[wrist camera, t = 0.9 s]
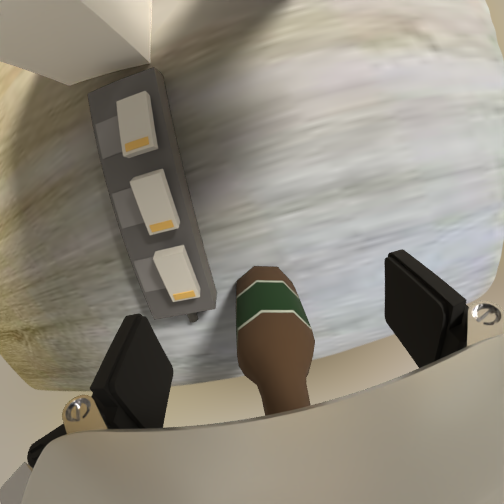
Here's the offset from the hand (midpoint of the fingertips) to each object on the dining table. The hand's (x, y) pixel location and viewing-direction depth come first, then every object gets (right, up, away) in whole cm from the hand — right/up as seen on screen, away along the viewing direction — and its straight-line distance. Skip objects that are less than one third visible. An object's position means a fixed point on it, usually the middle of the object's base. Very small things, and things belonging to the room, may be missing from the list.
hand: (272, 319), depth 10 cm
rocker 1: (-12, +15, +14) cm, 23 cm away
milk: (-19, +30, +14) cm, 38 cm away
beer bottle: (+1, -2, +27) cm, 27 cm away
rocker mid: (-10, +7, +17) cm, 21 cm away
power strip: (-12, +8, +22) cm, 26 cm away
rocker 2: (-9, 0, +20) cm, 22 cm away
